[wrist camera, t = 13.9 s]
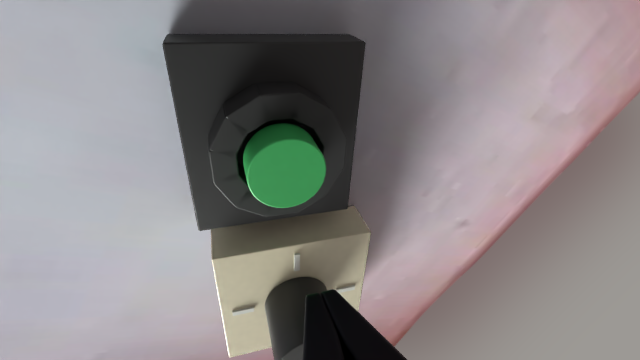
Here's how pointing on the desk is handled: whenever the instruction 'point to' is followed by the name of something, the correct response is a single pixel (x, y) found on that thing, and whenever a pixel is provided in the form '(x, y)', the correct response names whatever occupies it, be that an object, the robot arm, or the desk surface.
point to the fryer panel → (284, 267)
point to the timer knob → (289, 316)
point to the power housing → (262, 113)
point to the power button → (283, 165)
